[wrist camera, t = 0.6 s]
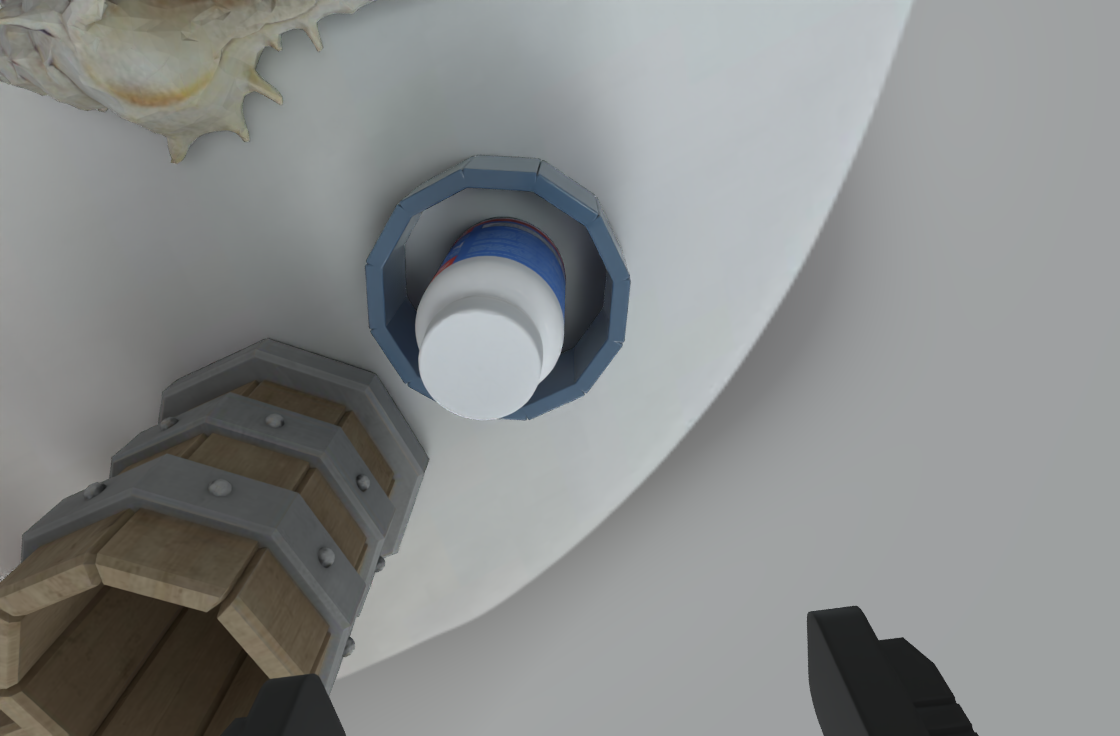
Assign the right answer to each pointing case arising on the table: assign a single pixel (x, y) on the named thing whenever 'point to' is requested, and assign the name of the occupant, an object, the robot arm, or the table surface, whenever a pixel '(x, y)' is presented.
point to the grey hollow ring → (387, 258)
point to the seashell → (154, 56)
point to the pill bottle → (492, 319)
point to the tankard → (210, 552)
